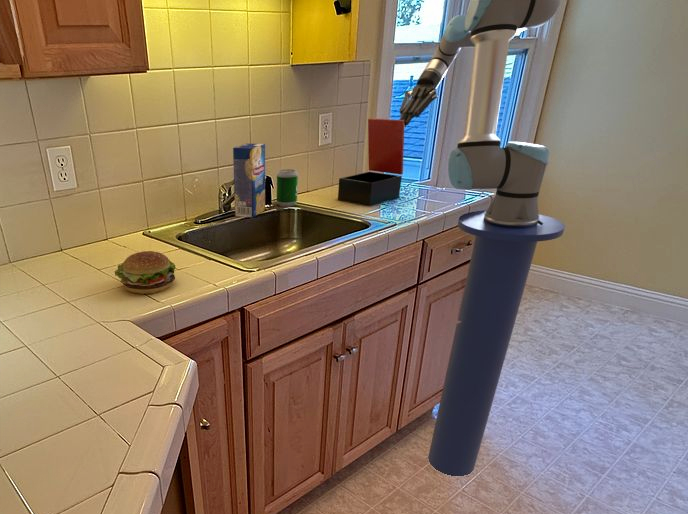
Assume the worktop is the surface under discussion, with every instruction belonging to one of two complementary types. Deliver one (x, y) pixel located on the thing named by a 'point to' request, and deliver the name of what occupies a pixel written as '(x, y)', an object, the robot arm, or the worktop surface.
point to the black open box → (369, 188)
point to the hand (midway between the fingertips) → (398, 131)
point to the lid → (386, 145)
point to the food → (146, 272)
